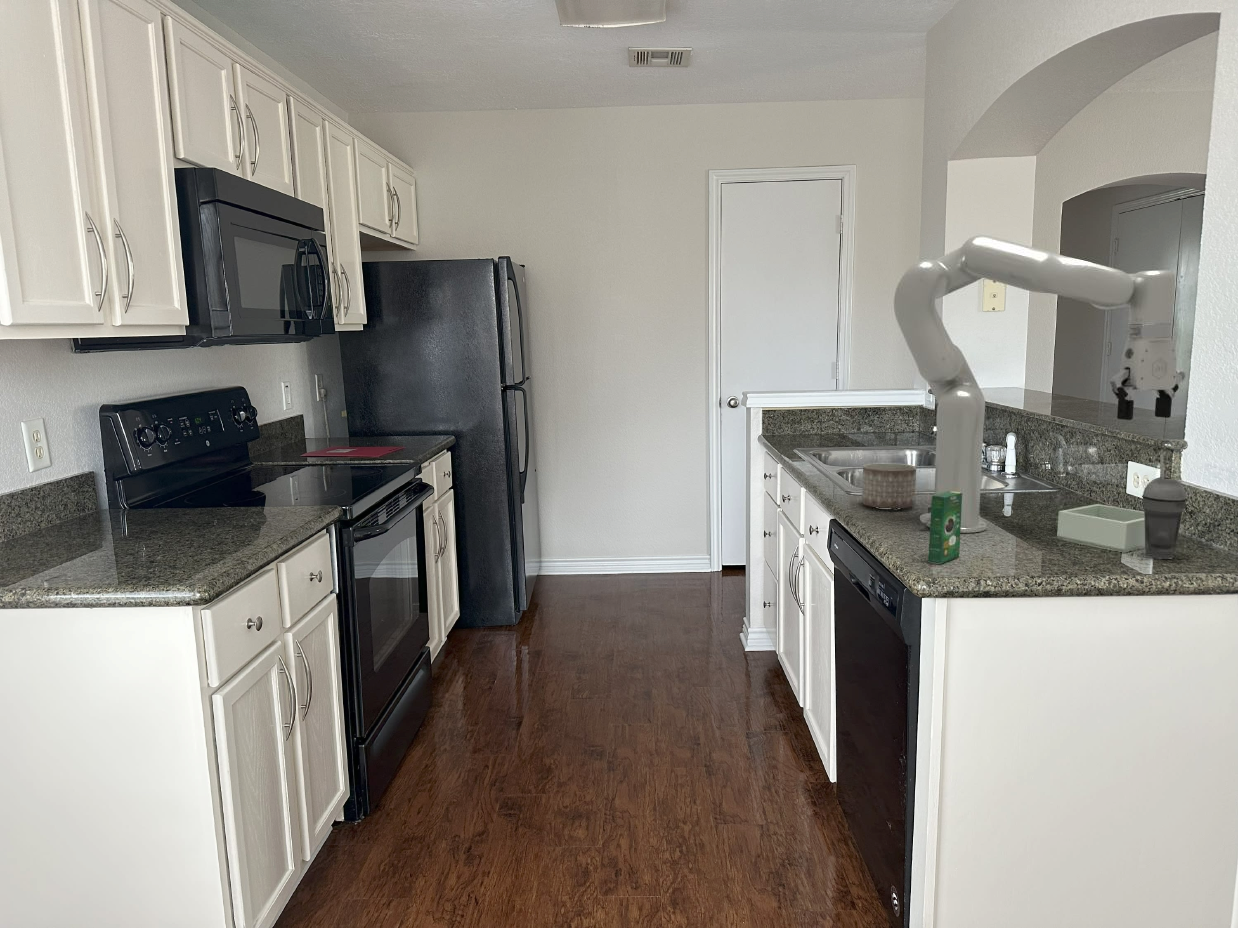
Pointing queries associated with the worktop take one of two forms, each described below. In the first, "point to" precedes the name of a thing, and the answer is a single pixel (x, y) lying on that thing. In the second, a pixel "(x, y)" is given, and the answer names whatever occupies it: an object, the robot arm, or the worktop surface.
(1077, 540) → the walled box
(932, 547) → the green upright box
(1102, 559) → the worktop surface
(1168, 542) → the beverage cup
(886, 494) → the planter
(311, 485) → the worktop surface
